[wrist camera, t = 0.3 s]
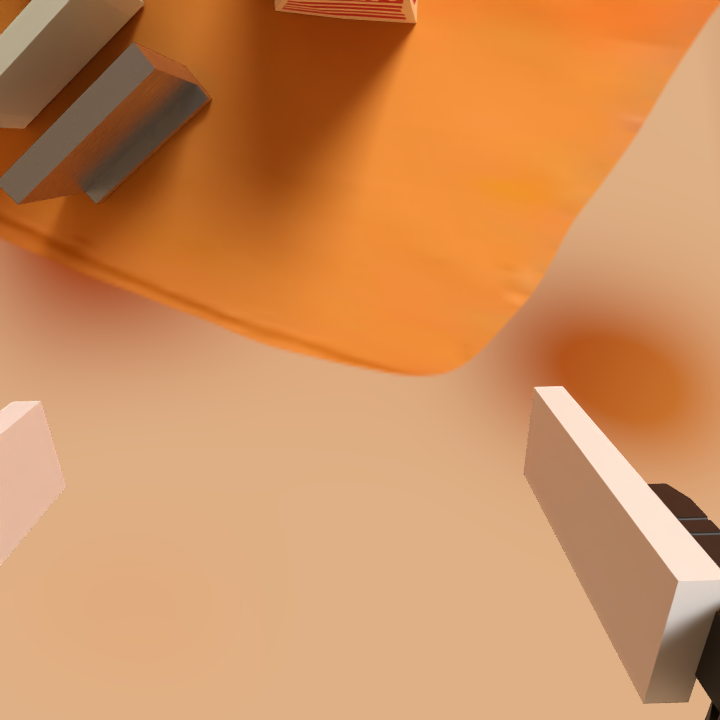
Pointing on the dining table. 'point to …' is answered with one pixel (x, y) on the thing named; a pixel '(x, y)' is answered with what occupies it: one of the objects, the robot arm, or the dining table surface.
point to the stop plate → (108, 129)
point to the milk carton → (354, 9)
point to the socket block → (52, 50)
